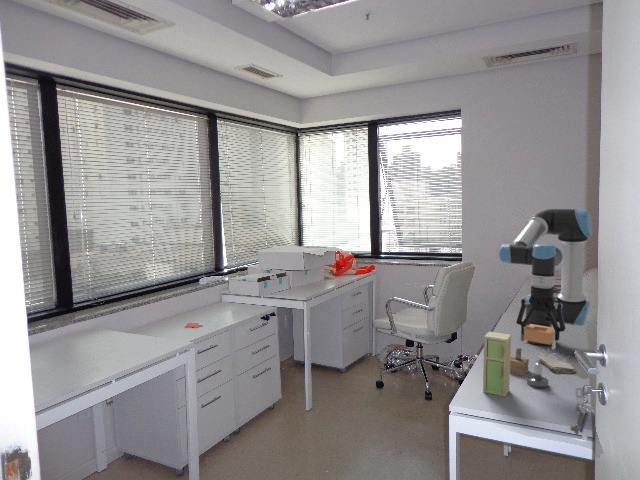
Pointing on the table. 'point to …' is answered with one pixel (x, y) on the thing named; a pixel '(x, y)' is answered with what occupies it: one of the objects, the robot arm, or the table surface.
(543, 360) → the stone
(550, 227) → the robot arm
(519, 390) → the table surface
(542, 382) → the hub
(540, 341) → the slotted orange block
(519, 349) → the stand
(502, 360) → the toy refrigerator
